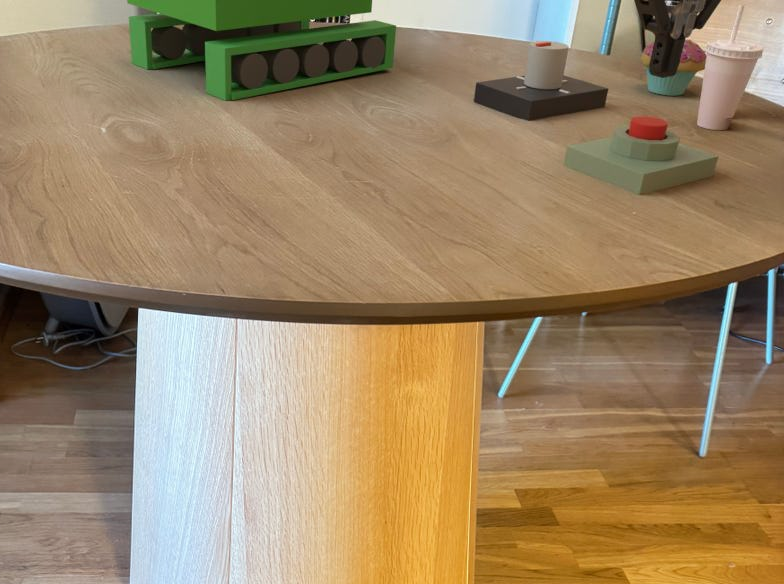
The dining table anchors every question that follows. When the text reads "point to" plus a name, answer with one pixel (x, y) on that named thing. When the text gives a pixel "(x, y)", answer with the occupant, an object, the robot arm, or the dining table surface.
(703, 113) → the smoothie
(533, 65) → the timer dial
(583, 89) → the timer panel
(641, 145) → the switch block
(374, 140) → the dining table surface
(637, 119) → the power button
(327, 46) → the tank
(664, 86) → the cupcake
